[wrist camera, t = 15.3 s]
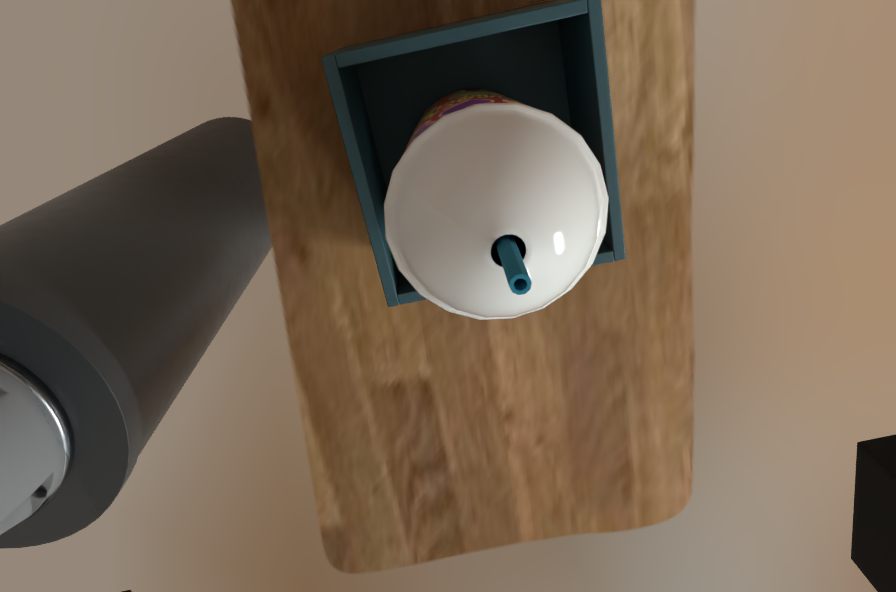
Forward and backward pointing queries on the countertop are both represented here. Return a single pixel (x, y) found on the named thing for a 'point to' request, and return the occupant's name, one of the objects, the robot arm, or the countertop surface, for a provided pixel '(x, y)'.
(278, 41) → the countertop surface
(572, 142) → the smoothie
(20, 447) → the robot arm
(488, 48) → the dark teal open box
